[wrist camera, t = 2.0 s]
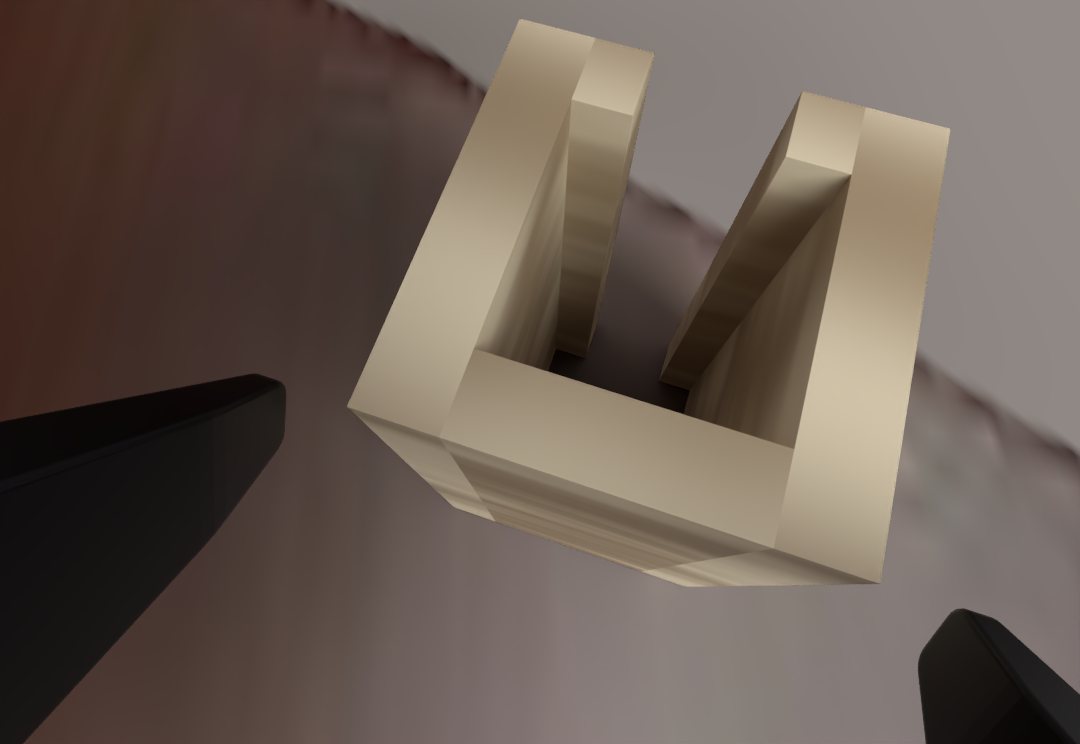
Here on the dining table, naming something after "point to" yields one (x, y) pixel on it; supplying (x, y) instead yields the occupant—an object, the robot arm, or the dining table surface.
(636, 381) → the dining table surface
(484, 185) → the beech collar
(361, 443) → the dining table surface
